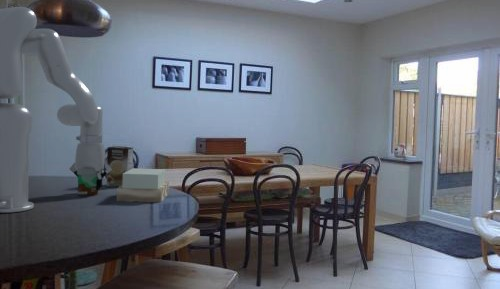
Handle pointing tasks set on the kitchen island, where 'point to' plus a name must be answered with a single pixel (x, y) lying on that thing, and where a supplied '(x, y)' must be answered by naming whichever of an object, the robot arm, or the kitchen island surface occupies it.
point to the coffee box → (118, 164)
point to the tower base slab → (142, 194)
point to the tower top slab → (144, 178)
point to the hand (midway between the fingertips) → (90, 188)
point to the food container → (87, 182)
